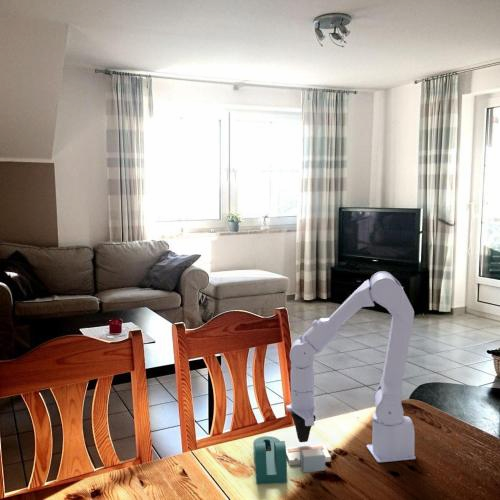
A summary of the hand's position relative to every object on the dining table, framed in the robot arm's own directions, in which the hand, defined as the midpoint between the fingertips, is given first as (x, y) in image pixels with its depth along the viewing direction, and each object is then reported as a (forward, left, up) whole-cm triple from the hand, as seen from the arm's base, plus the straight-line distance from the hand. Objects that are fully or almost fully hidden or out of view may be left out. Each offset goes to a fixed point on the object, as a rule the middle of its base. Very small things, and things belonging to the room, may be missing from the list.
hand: (302, 440), depth 135 cm
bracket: (+10, +5, -2) cm, 11 cm away
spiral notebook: (0, +4, -2) cm, 5 cm away
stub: (0, +9, -2) cm, 10 cm away
